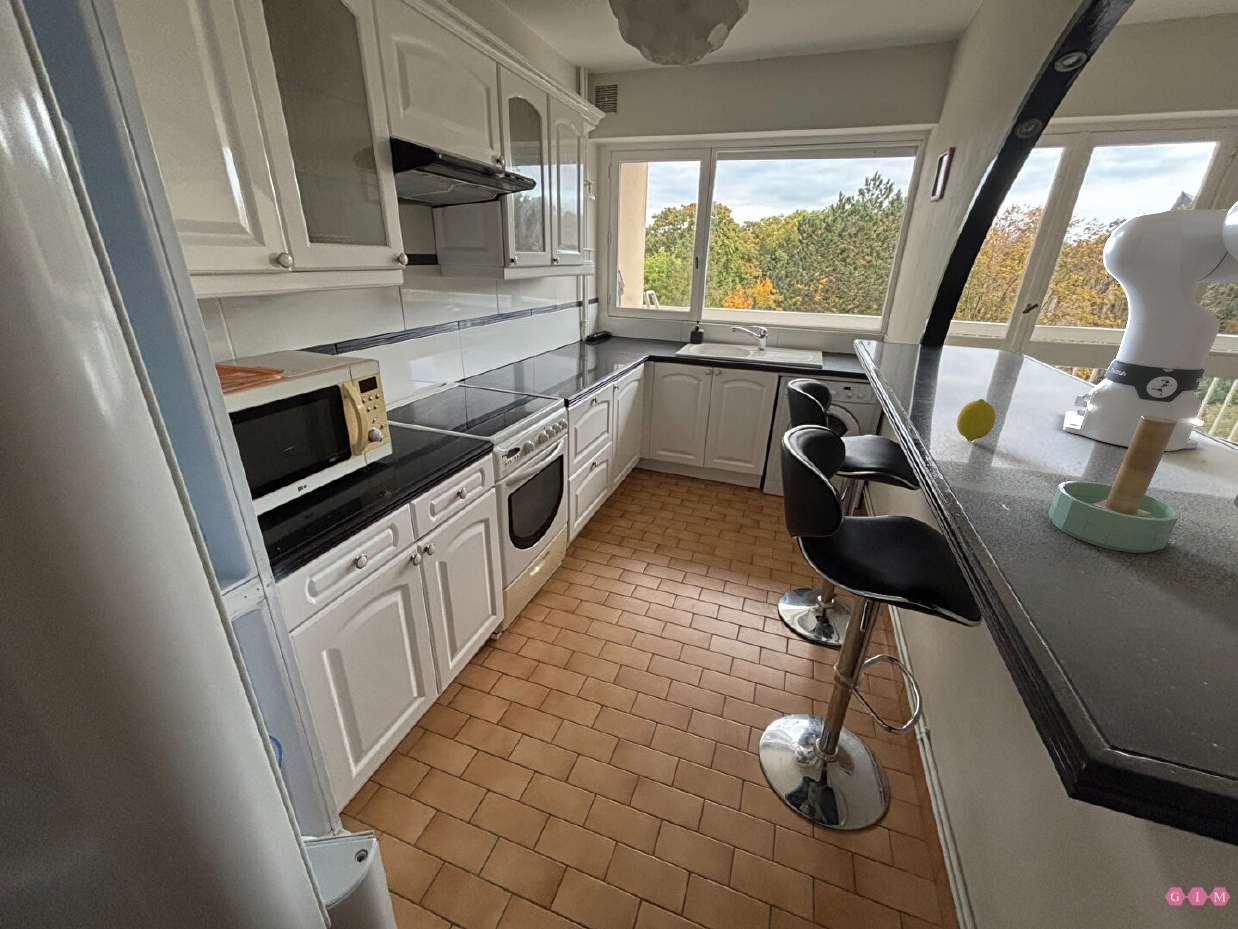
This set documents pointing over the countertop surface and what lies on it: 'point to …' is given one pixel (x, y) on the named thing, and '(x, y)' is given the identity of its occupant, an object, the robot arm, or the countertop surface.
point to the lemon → (976, 420)
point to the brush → (1139, 466)
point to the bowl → (1111, 519)
